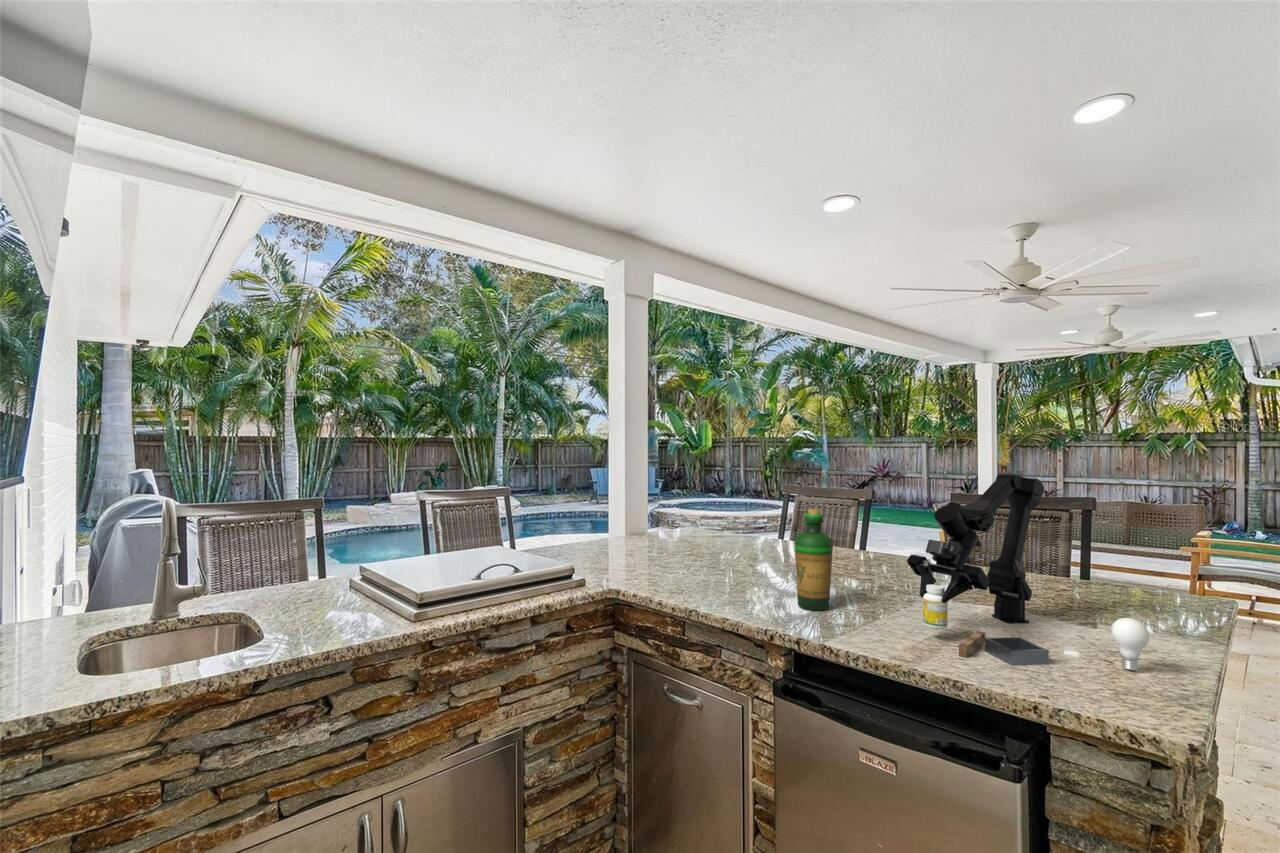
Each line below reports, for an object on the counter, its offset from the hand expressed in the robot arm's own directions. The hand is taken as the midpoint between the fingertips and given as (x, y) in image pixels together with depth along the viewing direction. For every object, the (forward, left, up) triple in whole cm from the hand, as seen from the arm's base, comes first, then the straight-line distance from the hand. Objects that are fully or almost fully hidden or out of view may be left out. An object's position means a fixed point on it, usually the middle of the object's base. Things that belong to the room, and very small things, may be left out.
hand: (931, 599), depth 147 cm
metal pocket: (-12, +13, -10) cm, 20 cm away
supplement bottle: (-1, -1, -7) cm, 7 cm away
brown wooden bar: (-6, +7, -10) cm, 13 cm away
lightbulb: (-31, +22, -10) cm, 39 cm away
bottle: (+18, -29, -10) cm, 36 cm away
